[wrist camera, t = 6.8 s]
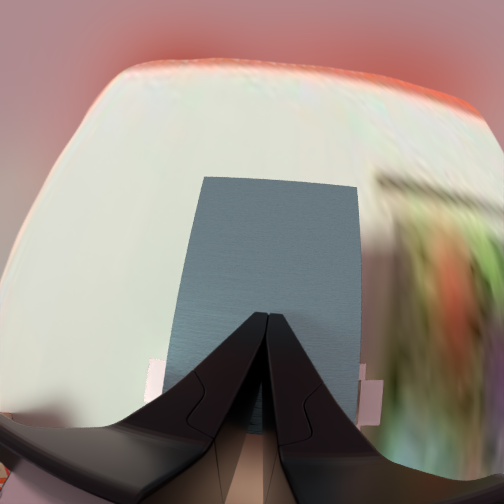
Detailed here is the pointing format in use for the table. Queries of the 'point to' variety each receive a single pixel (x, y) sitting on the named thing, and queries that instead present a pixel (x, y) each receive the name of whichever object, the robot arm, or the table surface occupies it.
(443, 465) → the table surface
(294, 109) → the table surface
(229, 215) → the grey rectangular block
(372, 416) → the pivot stand
